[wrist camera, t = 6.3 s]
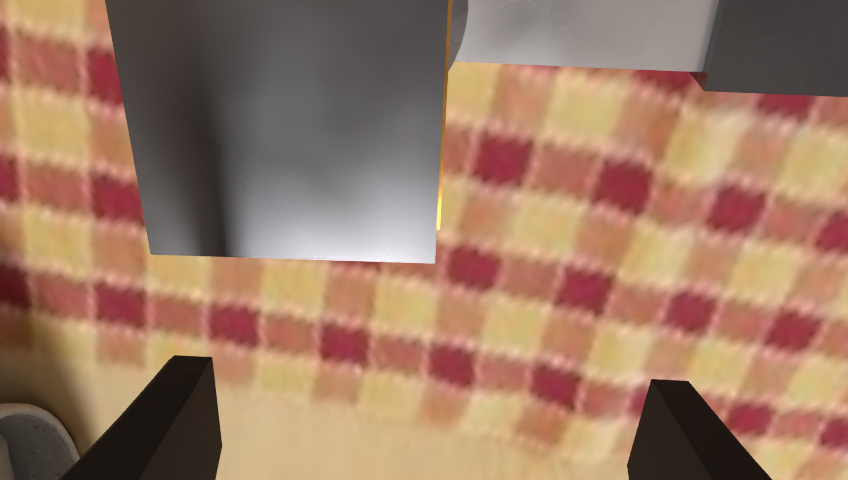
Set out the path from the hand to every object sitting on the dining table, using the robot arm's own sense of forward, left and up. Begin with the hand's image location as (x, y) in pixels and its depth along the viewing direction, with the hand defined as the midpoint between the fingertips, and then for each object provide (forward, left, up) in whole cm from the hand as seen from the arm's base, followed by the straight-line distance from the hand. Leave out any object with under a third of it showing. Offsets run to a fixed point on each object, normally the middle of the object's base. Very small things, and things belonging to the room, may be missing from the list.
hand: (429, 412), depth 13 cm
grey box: (+2, -4, -8) cm, 9 cm away
